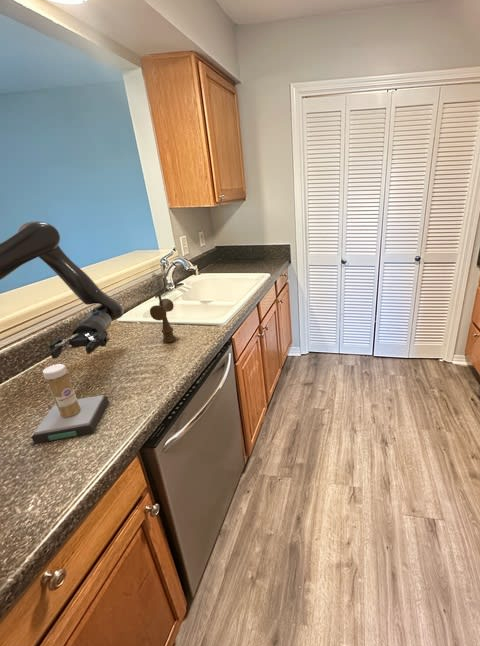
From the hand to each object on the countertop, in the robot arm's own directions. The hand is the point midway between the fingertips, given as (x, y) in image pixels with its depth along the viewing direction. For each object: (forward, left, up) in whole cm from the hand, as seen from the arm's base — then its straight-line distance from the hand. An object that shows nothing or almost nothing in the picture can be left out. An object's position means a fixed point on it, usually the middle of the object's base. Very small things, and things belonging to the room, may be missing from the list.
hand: (70, 353), depth 89 cm
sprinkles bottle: (+1, -11, -12) cm, 17 cm away
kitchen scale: (+1, -11, -15) cm, 19 cm away
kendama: (+19, +33, -15) cm, 41 cm away
